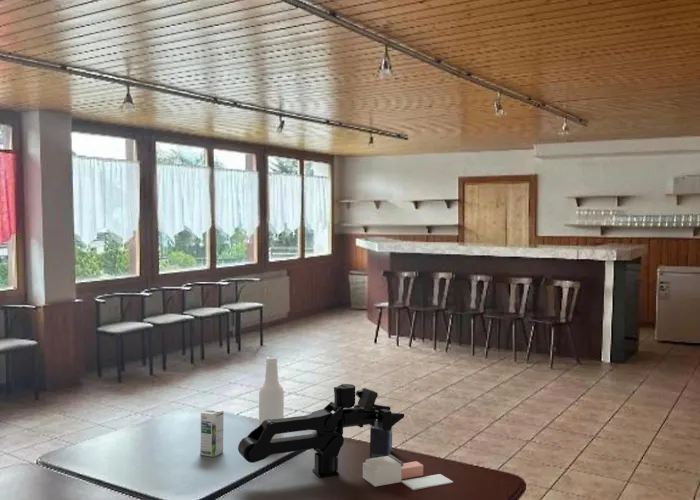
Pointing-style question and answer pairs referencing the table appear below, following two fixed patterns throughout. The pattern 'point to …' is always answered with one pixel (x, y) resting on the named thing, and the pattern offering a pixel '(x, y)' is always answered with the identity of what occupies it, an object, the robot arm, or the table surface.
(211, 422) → the syrup box
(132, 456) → the table surface
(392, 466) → the block
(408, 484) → the mat
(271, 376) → the alcohol
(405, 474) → the salmon pink block
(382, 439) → the small box
